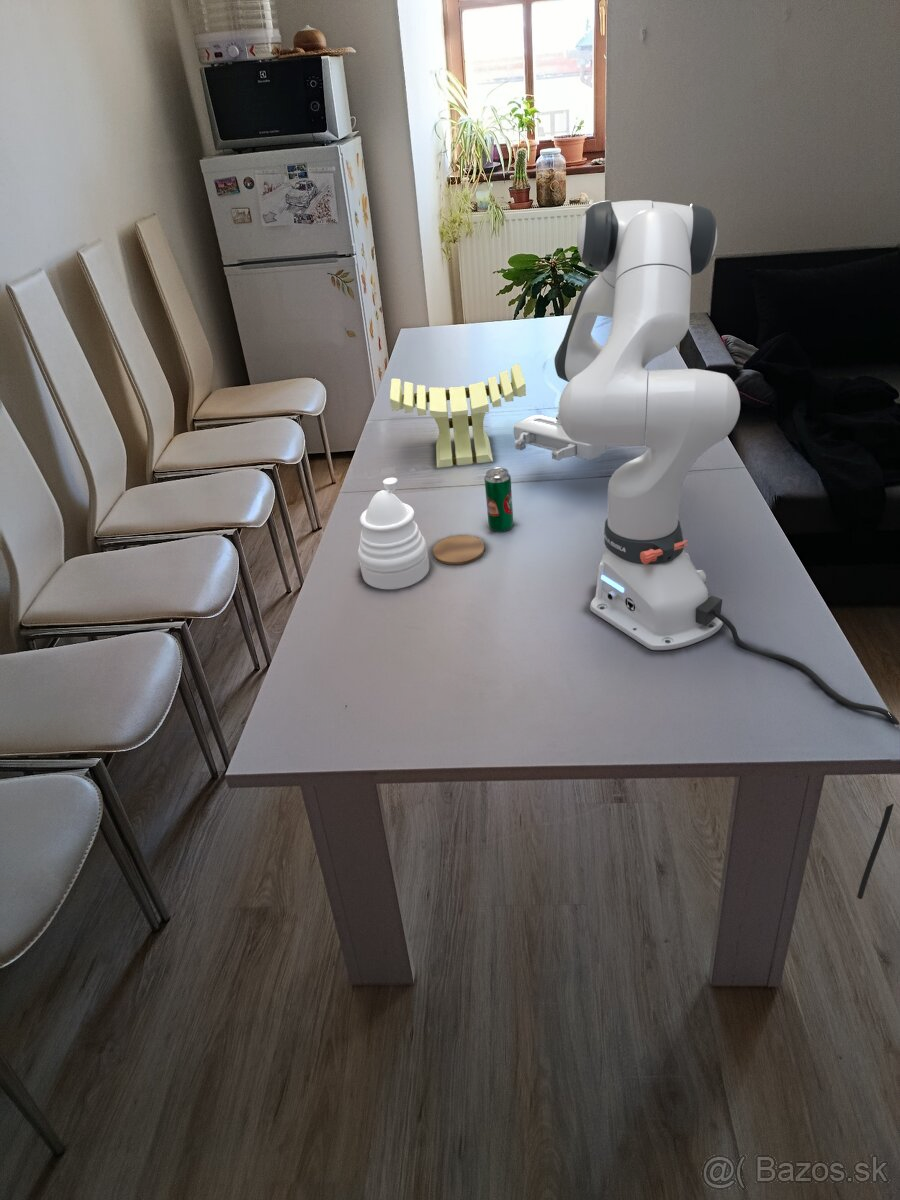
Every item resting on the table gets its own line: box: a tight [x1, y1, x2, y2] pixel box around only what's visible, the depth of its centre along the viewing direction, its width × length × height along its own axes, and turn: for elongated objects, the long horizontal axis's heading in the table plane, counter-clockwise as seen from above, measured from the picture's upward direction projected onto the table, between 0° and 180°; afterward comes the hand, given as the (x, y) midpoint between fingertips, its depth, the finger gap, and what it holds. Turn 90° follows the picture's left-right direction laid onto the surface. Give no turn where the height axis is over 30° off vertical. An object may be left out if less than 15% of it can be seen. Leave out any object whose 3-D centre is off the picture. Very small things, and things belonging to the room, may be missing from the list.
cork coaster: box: [432, 534, 485, 566], centre depth 153 cm, size 10×10×1 cm
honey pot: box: [357, 477, 430, 590], centre depth 145 cm, size 13×13×18 cm
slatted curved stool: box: [389, 363, 527, 469], centre depth 186 cm, size 30×16×18 cm, turn 91°
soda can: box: [483, 467, 514, 533], centre depth 156 cm, size 5×5×12 cm
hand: (535, 451), depth 160 cm, fingers open, 8 cm apart
